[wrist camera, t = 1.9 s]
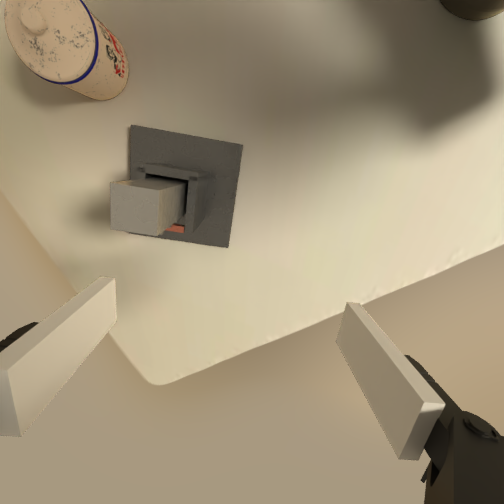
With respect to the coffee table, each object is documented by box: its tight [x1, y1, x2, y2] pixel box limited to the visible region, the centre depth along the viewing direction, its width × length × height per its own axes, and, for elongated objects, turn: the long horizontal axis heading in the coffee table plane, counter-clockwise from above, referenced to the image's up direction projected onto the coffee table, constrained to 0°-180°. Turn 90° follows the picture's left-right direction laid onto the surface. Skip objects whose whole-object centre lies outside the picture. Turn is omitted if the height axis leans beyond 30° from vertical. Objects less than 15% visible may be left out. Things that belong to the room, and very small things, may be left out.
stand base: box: [129, 125, 243, 248], centre depth 35 cm, size 16×16×10 cm
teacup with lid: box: [5, 0, 129, 100], centre depth 29 cm, size 12×9×12 cm
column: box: [110, 176, 189, 236], centre depth 30 cm, size 5×4×18 cm
